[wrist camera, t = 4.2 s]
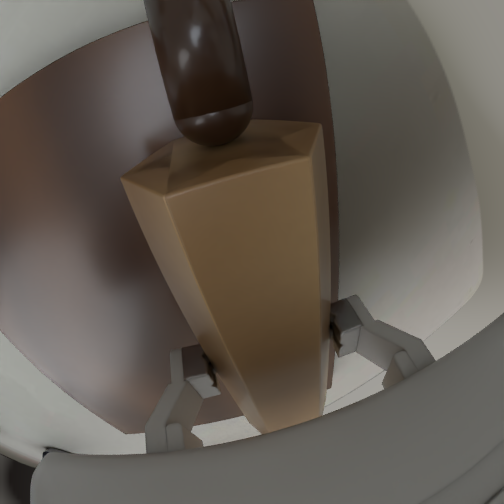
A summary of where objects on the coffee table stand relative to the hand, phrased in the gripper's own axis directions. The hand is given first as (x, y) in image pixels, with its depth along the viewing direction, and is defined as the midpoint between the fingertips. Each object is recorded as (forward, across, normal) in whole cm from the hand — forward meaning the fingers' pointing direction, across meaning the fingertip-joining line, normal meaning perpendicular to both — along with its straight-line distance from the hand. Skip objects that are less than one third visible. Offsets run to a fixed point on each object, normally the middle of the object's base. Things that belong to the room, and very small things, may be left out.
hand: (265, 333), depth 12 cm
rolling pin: (+2, 0, 0) cm, 2 cm away
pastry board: (+2, +5, 0) cm, 6 cm away
